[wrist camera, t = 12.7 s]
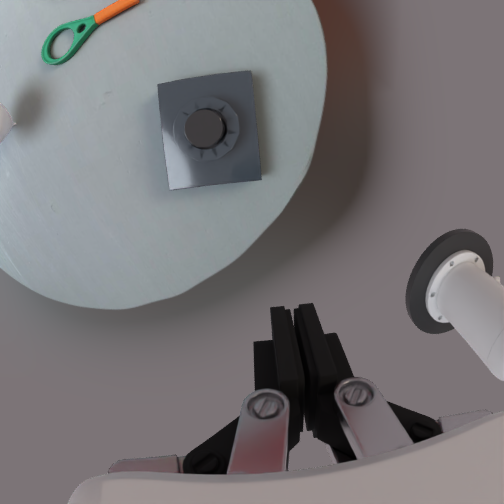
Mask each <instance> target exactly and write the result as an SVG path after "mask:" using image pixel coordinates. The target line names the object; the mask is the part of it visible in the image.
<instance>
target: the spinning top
mask: <svg viewBox="0 0 504 504" xmlns="http://www.w3.org/2000/svg"><path fill="white" fill-rule="evenodd" d="M13 125H16V123H13V120H12V118H11V116H10V114H9V112H8V110H7V109H6V108H5V106H4V105H3V104H2V103H0V143H1V142H2V141H3V140H4V139H5V137H6V136H7V135H8V133H9V132H10V130H11V128H12V126H13Z"/></svg>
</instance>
